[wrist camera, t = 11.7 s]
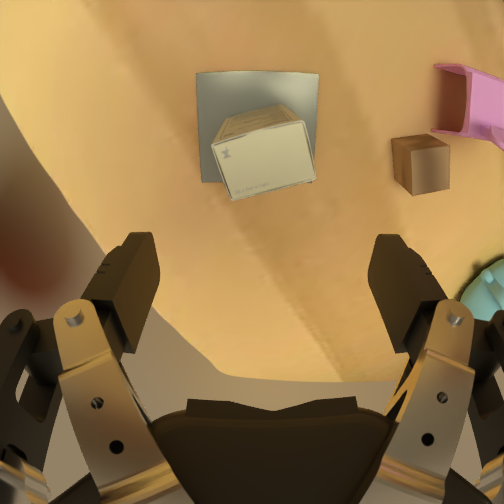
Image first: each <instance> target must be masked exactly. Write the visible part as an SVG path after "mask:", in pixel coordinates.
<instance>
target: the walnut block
mask: <svg viewBox="0 0 504 504" xmlns="http://www.w3.org/2000/svg"><path fill="white" fill-rule="evenodd" d="M391 141H392V151H393V163H394V177H395V180H396V181H397V182H398V183H400V184H401V185H402V186H403V187H404V188H405V189H406V190H407V191H408V192H409V193H410V194H411V195H412V196H416V195H421V194H426V193H431V192H436V191H441V190H447V189H450V146H449V145H447V144H446V143H444V142H442V141H440V140H438V139H436V138H434V137H432V136H430V135H428V134H423V135H415V136H407V137H400V138H393V139H391Z"/></svg>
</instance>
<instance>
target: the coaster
mask: <svg viewBox="0 0 504 504" xmlns="http://www.w3.org/2000/svg"><path fill="white" fill-rule="evenodd" d="M318 81H319V74H311V73H297V72H277V71H227V72H206V73H196V86H197V111H198V131H199V149H200V165H201V179H202V183H204V182H223V179H222V177H221V174H220V171H219V168H218V165H217V162H216V159H215V156H214V153H213V150H212V147H211V144H212V142H213V141H214V139H215V137H216V135H217V133H218V131H219V130H220V128H221V126H222V124H223V122H224V121H225V119H226V118H228V117H231V116H235V115H238V114H241V113H245V112H249V111H252V110H256V109H260V108H264V107H269V106H273V105H278V104H284V105H285V106H286V107H287V108H289V109H290V110H291V111H292V112H293V113H295V114H296V115H297V116H298V117H299V118H301V119H302V120H303V121H304V122H305V125H306V129H307V133H308V137H309V141H310V146H311V151H312V156H313V161H314V152H315V138H316V122H317V104H318ZM306 183H312V181H310V182H306Z"/></svg>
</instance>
